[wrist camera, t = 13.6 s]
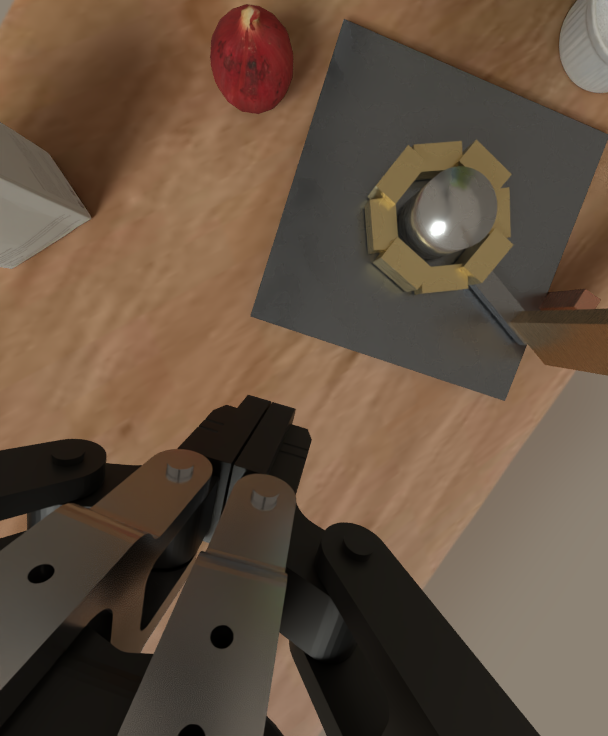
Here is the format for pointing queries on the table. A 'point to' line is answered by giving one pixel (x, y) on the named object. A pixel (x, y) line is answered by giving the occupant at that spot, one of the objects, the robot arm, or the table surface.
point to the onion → (251, 59)
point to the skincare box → (32, 200)
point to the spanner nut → (479, 260)
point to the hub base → (359, 160)
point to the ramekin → (586, 45)
